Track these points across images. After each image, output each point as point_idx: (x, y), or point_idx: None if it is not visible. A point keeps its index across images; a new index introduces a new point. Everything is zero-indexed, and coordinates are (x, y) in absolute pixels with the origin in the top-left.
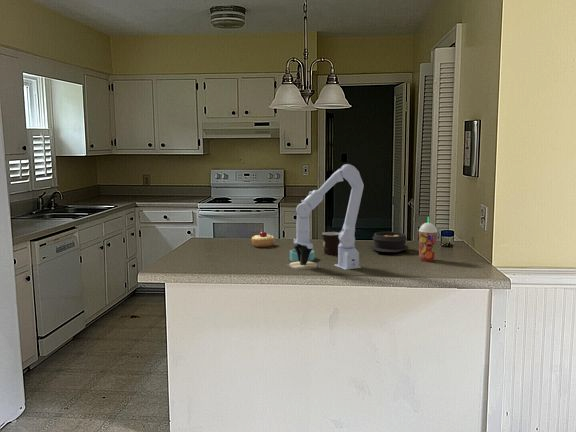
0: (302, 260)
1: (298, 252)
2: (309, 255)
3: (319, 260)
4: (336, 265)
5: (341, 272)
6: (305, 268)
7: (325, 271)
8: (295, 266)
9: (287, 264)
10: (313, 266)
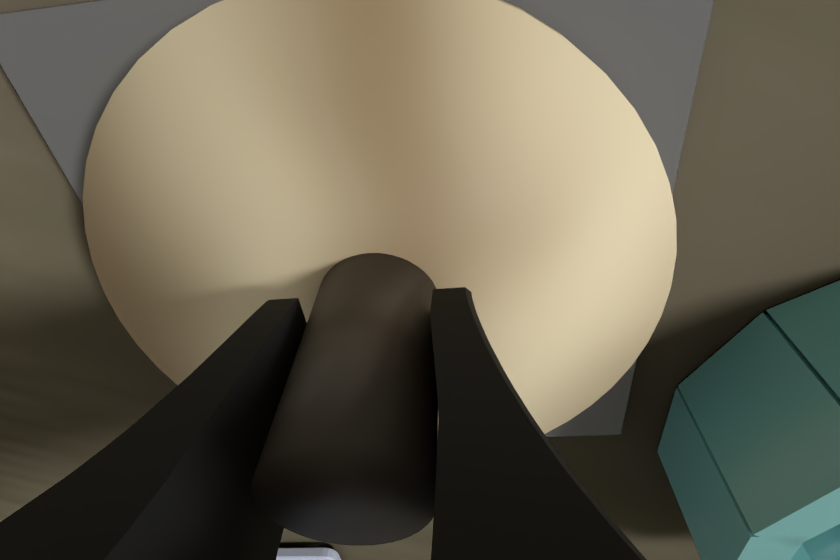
0: (233, 334)
1: (437, 485)
2: (703, 542)
3: (654, 530)
4: (280, 557)
5: (23, 503)
6: (100, 241)
7: (57, 416)
8: (199, 83)
9: (701, 17)
10: (173, 380)
